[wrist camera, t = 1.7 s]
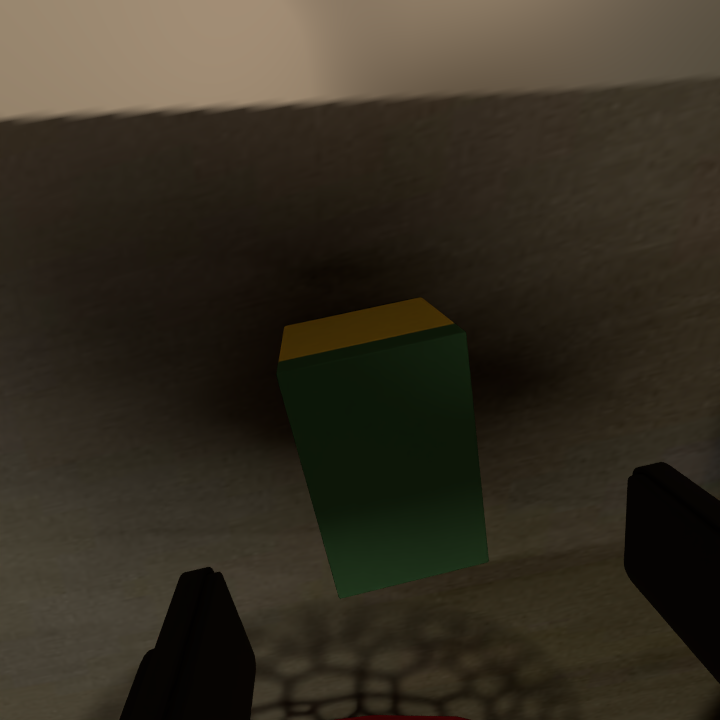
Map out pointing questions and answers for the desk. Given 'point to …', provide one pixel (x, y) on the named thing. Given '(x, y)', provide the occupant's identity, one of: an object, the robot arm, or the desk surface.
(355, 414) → the sponge
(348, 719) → the bowl
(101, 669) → the desk surface
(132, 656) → the desk surface
